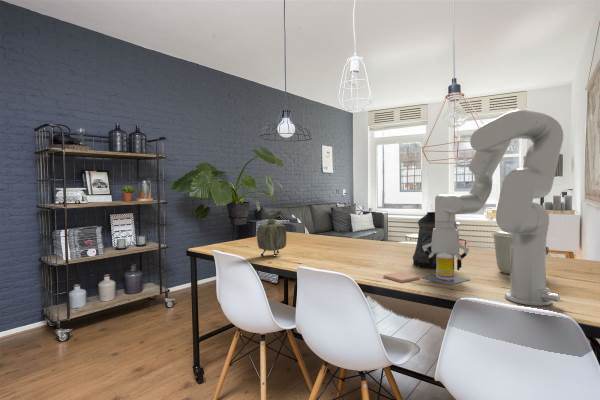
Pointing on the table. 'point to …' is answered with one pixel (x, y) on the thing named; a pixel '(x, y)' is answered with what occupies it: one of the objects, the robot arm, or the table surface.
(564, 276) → the table surface
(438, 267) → the supplement bottle
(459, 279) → the tile
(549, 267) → the table surface
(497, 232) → the canister
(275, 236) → the tabletop clock
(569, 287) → the table surface
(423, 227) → the beer stein
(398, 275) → the coaster pad
